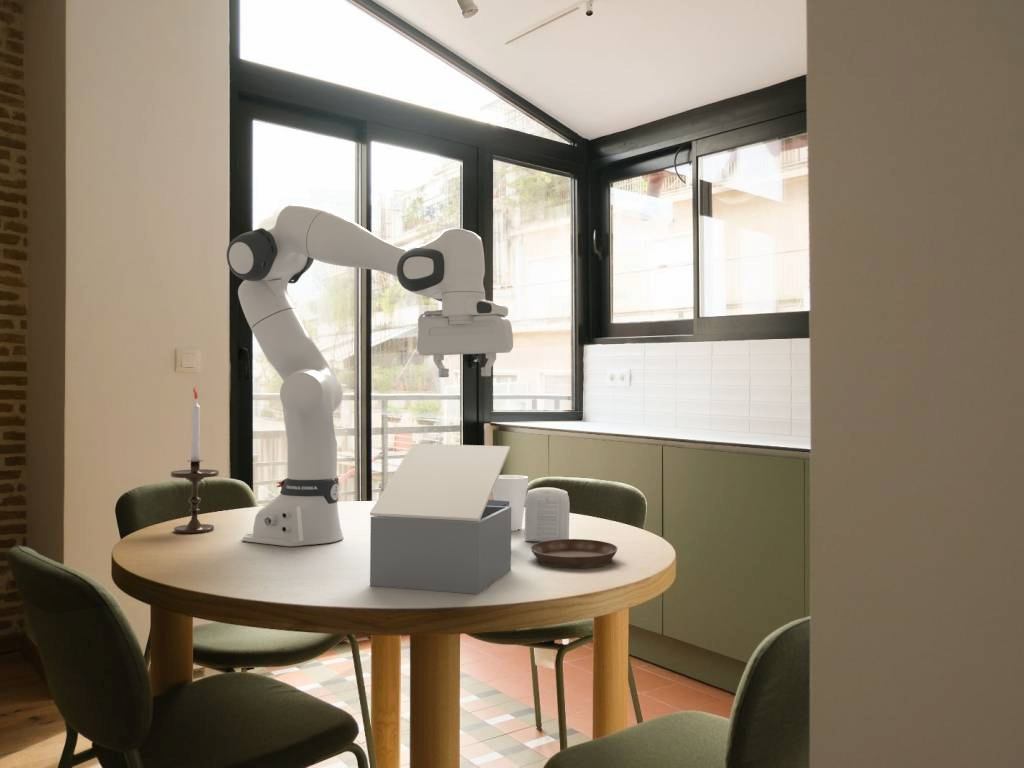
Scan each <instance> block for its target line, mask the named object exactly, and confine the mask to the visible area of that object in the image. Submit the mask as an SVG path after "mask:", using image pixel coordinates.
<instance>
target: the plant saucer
mask: <svg viewBox="0 0 1024 768" xmlns="http://www.w3.org/2000/svg"><path fill="white" fill-rule="evenodd" d="M618 549H619V548H618V546H617V545H615V544H614V543H610V542H608V541H607V542H606V541H602V540H593V539H586V538H585V539H583V538H582V539H579V538H569V539H560V540H550V541H543V542H535V543H534V544H533V545H531V546H530V550H531V553H533V555H534V556H535V558H536V559H537V560H538V561H539V562H540V563H541V562H542V564H544V565H546V564H547V566H550V565H551V567H556V566H557V568H568V569H583V568H584V569H588V567H589V568H597V567H600V566H605V565H607V564H608V563H609V562H610V561H612V559H613V558H614V556H615V555H616V553H617V551H618Z"/></svg>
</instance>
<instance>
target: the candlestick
mask: <svg viewBox="0 0 1024 768" xmlns="http://www.w3.org/2000/svg"><path fill="white" fill-rule="evenodd" d="M192 391H193V393H194V394H193V395H194V396H193V397H194V402H193V405H191V428H190V429H191V430H190V431H191V439H190V441H191V443H190V444H191V445H190V446H191V447H190V450H191V451H190V460H187V462H189V463H190V469H180V470H172V471H170V477H171V478H174V479H175V478H176V479H185V480H187V481H188V482H189V483H191V497H189V498H188V503H189V504H190V505H191V506H190V509H189V510H188V512H191V516H190V517H191V518H190V520H189V522H188V524H183V525H178V526H175V527H174V528H173V532H174V533H175V534H181V535H198V533H200V534H206V533H205V532H207V533H211V532H214V531H213V530H215V525H214V524H209V523H207V524H205V523H201V521H200V520H199V519H198V512H200V511H201V509H200V508H199V504H200V503H201V500H202V499H201V497H199V494H198V491H199V490H198V489H199V487H198V486H199V482H202V480H204V479H205V478H212V477H213V478H214V477H218V476H219V475H220V472H219V471H220V470H217V469H208V468H207V469H205V468H203V469H200V466H201V465H200V464H201V462H204V460H203V459H202V460H201V459H200V443H201V442H200V432H201V430H200V429H201V427H200V426H201V424H200V423H201V406H200V405H199V402H198V396H199V395H198V392H197V391H196V387H193V389H192ZM210 531H211V532H210Z"/></svg>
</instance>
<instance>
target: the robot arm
mask: <svg viewBox="0 0 1024 768" xmlns="http://www.w3.org/2000/svg"><path fill="white" fill-rule="evenodd" d="M314 260H316V261H319V262H321V263H325V264H330V265H333V266H340V267H345V268H347V267H348V268H356V269H366V270H374V271H379V272H382V273H386V274H389V275H392V276H395V277H397V281H398V282H399V284H400V285H401V287H402V288H403V289H405V290H406V291H409V292H410V293H413V294H414V295H415V294H416V295H419V296H423V297H427V298H431V299H433V300H436V301H438V302H441V309H437V310H426V311H423V313H422V314H420V315H419V316H418V319H417V327H418V333H417V341H416V351H417V352H418V354H419V355H420V356H426V357H427V356H428V357H431V356H433V357H432V359H433V360H432V361H433V362H434V364H435V366H436V368H437V369H438V377H439V378H449V375H450V373H449V372H450V369H449V368H445V366H444V363H443V361H445V356H450V355H451V356H455V355H456V356H458V355H476V354H477V355H479V354H480V355H482V354H485V359H487V361H486V364H485V366H483V367H480V370H481V371H480V375H481V376H480V377H491V376H492V368H493V365H494V364H495V362H496V360H497V354H500V353H501V354H505V353H506V354H509V353H510V352H511V351H512V350H513V348H514V335H513V329H512V328H513V327H512V324H511V321H510V320H509V318H507V317H508V316H509V307H507V306H506V305H504V304H502V303H497V302H495V301H493V300H489V299H486V291H485V286H484V278H485V274H486V266H485V264H486V263H485V252H484V245H483V241H482V238H481V236H479V234H477V233H475V232H473V231H471V230H467V229H465V228H458V227H457V228H456V227H455V228H453V227H451V228H447V229H444V230H443V231H442V233H441V234H439V236H437V237H436V238H435V239H433V240H431V241H429V242H427V243H425V244H422V245H418V246H417V247H412V248H409V249H405V248H402V247H400V246H396V245H394V244H392V243H390V242H389V241H386V240H384V239H382V238H380V237H379V236H377V235H376V234H374V233H372V232H370V231H369V230H368V229H366V228H364V227H362V226H361V225H359V224H358V223H356V222H354V221H353V220H351V219H349V218H347V217H345V216H343V215H341V214H339V213H337V212H334V211H332V210H328V209H325V208H322V207H319V206H315V205H314V206H313V205H308V204H307V205H306V204H298V203H294V204H289V205H286V206H285V207H284V208H283V209H281V211H280V212H279V213H278V216H277V218H276V222H275V225H274V226H273V227H272V228H271V229H265V228H262V227H260V228H257V229H255V230H251V231H246V232H244V233H242V234H240V235H238V236H236V237H234V238H233V239H232V240H231V241H230V242H229V244H228V247H227V249H226V261H227V265H228V267H229V269H230V271H231V272H232V274H234V275H235V277H237V278H239V279H241V280H243V281H242V282H241V284H240V285H239V286H238V289H237V295H238V300H239V303H240V306H241V309H242V312H243V314H244V317H245V319H246V321H247V324H248V326H249V327H250V330H251V331H252V333H253V335H254V337H255V339H256V341H257V343H258V345H259V347H260V349H261V350H262V353H263V355H264V357H266V360H267V361H268V363H269V364H270V365H271V366H272V367H273V369H274V370H275V371H276V372H277V374H278V376H279V377H280V378H281V380H282V381H283V383H282V384H281V387H280V390H279V397H280V401H281V405H282V411H283V412H282V413H283V421H284V428H285V433H286V442H287V466H286V467H287V472H286V473H287V476H286V478H284V479H283V480H281V481H277V482H276V484H277V485H276V488H281V490H280V491H279V494H278V495H277V496H276V497H275V498H274V499H272V500H271V501H269V502H268V503H267V504H266V505H265V506H264V507H262V508H261V509H259V510H258V511H257V513H256V514H255V518H254V522H253V528H252V531H250V532H248V533H245V534H244V535H243V536H242V541H243V542H250V543H259V544H266V545H275V546H282V547H300V546H310V545H319V544H320V545H323V544H329V543H334V542H338V541H341V540H343V539H344V535H343V532H342V529H341V528H342V527H341V523H340V517H339V516H340V515H339V509H338V508H339V507H338V506H339V505H338V502H339V492H340V491H339V484H340V483H339V482H340V481H339V477H337V473H338V472H337V471H338V467H337V466H338V457H337V456H338V443H337V438H336V432H335V431H336V430H335V426H334V425H335V423H334V416H333V415H334V414H333V413H334V412H335V411H336V410H337V409H338V408H339V406H340V404H341V403H342V401H343V400H342V399H343V396H344V395H343V388H342V385H341V382H340V381H339V380H338V378H337V377H336V375H335V373H334V371H333V370H332V368H331V366H330V364H329V363H328V361H327V360H326V358H325V356H324V354H322V351H320V348H319V347H318V346H317V345H316V343H315V342H314V340H313V339H312V336H311V335H310V333H309V331H308V329H307V328H306V325H305V324H304V323H305V322H304V321H303V319H302V318H301V316H300V314H299V312H298V311H297V308H296V307H295V305H294V303H293V302H292V299H291V298H290V295H289V292H288V284H296V283H297V282H298V281H299V279H300V278H301V277H302V275H304V274H305V273H306V272H307V271H308V270H309V269H310V268H311V266H312V265H313V262H314Z"/></svg>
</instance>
